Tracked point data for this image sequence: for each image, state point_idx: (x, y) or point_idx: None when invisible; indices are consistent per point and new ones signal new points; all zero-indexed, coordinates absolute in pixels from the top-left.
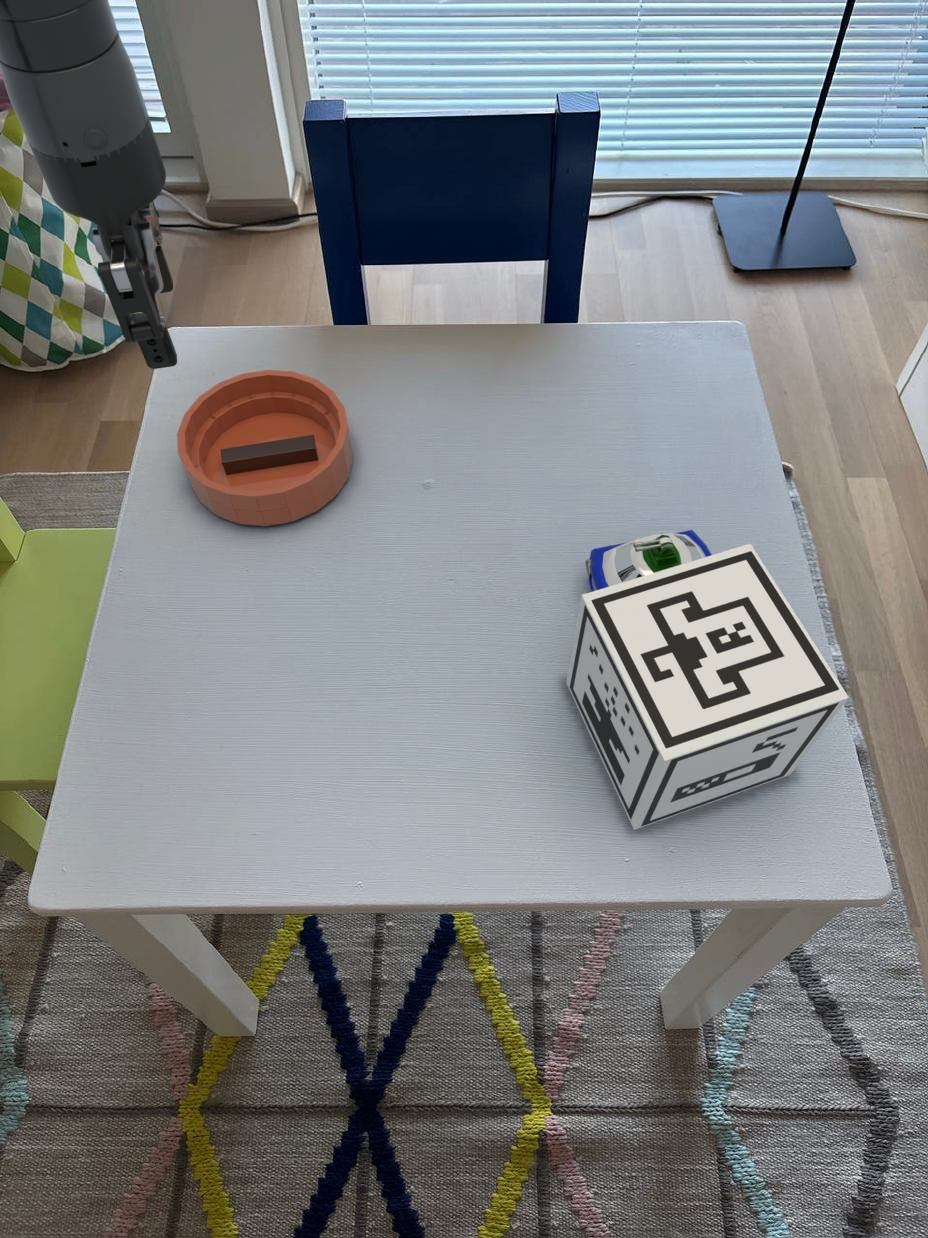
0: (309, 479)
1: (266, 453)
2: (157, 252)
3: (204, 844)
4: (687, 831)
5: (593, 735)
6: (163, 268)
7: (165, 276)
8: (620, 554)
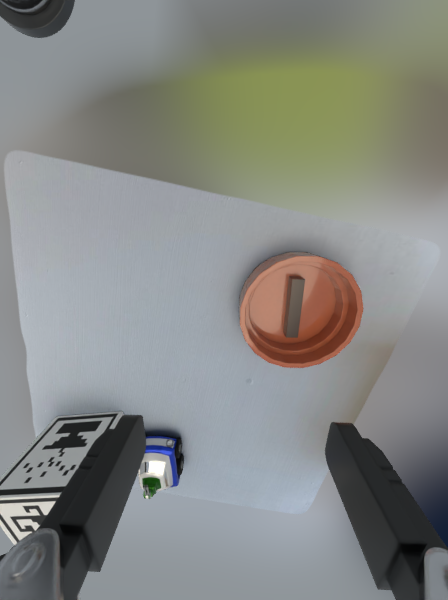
0: (246, 340)
1: (291, 308)
2: (376, 578)
3: (40, 244)
4: None
5: (92, 417)
6: (351, 512)
7: (340, 487)
8: (159, 466)
